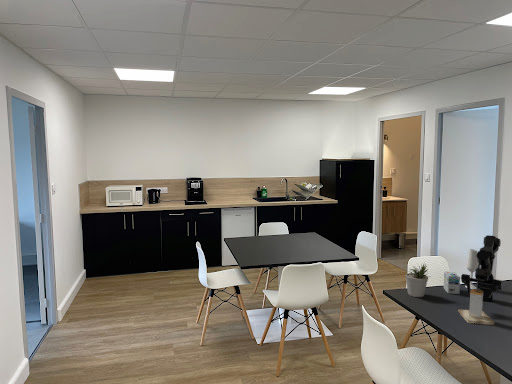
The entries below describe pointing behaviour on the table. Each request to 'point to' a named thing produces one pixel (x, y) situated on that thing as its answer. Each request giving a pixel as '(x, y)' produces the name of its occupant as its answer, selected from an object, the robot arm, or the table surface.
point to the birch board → (482, 320)
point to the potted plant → (417, 281)
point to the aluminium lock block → (476, 303)
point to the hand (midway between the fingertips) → (478, 295)
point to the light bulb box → (451, 282)
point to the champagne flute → (472, 264)
